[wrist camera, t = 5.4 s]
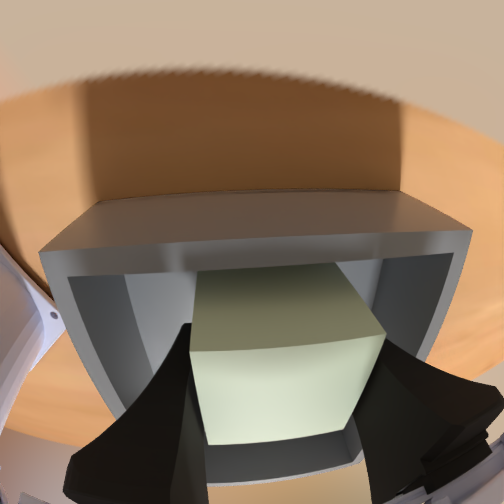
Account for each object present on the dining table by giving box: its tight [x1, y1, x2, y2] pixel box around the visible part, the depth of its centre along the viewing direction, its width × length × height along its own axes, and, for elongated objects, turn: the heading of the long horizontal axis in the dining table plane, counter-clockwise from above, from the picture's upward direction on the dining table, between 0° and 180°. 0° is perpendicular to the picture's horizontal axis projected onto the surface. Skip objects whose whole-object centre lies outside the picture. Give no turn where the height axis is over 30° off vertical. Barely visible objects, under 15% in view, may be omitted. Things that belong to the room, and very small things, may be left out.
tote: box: [38, 189, 473, 487], centre depth 13 cm, size 18×14×5 cm
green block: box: [189, 262, 387, 445], centre depth 10 cm, size 5×5×5 cm
